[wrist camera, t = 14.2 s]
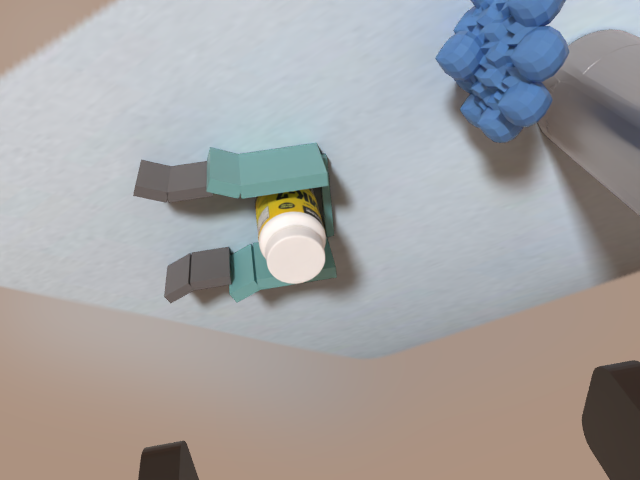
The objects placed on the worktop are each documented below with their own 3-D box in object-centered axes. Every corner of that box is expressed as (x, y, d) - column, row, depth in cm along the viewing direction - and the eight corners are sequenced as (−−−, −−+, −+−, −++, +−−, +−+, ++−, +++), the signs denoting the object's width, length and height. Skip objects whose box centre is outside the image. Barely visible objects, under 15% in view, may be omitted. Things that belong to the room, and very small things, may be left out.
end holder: (323, 131, 44) (335, 160, 39) (334, 248, 50) (345, 284, 45) (204, 148, 43) (203, 179, 39) (229, 265, 49) (231, 303, 45)
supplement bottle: (324, 183, 46) (343, 242, 39) (301, 232, 48) (315, 296, 41) (266, 165, 44) (276, 223, 37) (245, 216, 47) (251, 279, 40)
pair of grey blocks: (207, 150, 43) (207, 174, 40) (232, 263, 49) (233, 293, 46) (136, 160, 43) (130, 186, 39) (169, 273, 48) (166, 303, 45)
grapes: (412, -62, 37) (484, -31, 27) (514, -69, 38) (620, -41, 28) (405, 112, 44) (461, 188, 34) (492, 104, 44) (571, 176, 35)
